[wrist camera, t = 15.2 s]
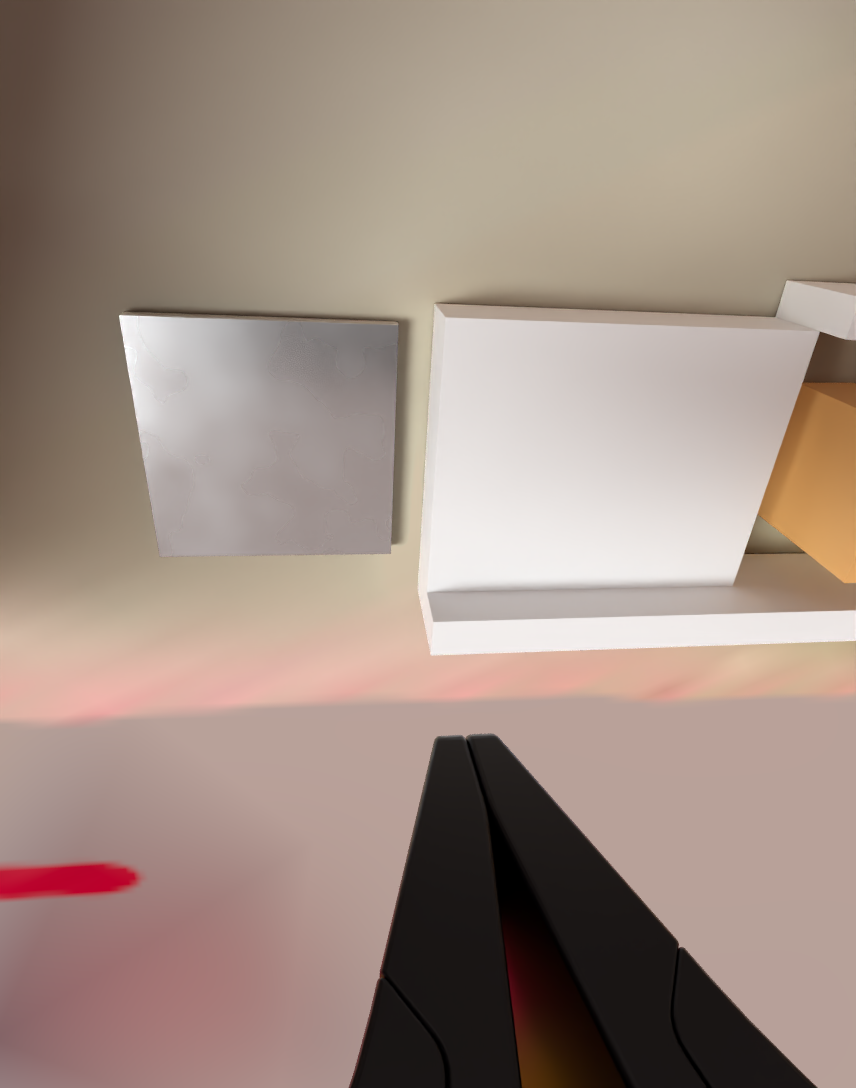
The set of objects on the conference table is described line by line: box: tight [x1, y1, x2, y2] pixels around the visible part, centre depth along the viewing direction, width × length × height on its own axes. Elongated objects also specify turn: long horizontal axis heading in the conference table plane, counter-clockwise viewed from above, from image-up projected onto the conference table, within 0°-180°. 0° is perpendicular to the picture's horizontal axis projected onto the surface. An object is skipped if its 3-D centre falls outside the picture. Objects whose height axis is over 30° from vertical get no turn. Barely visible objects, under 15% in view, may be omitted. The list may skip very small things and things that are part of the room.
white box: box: [418, 280, 856, 655], centre depth 19 cm, size 10×18×4 cm, turn 87°
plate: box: [119, 312, 399, 557], centre depth 19 cm, size 7×7×1 cm
